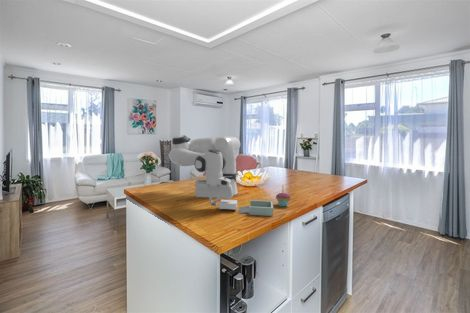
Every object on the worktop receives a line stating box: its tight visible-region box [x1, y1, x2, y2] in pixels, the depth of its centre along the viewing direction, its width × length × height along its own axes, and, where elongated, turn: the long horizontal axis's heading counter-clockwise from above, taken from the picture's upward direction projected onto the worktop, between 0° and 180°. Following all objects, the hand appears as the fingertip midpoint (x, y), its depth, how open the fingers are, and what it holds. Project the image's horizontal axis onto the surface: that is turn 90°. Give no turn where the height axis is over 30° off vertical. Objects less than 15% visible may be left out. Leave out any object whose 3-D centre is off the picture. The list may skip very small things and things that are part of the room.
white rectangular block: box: [218, 199, 238, 212], centre depth 128 cm, size 9×7×4 cm
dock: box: [237, 199, 274, 217], centre depth 126 cm, size 18×13×5 cm
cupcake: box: [275, 184, 292, 207], centre depth 137 cm, size 9×8×12 cm
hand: (213, 205), depth 129 cm, fingers closed
